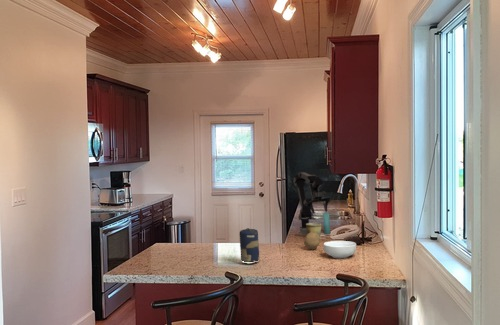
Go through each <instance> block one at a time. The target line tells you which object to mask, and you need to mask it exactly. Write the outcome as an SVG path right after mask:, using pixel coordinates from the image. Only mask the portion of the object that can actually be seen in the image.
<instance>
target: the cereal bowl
mask: <svg viewBox="0 0 500 325" xmlns="http://www.w3.org/2000/svg"><path fill="white" fill-rule="evenodd" d="M323 250H324V252H325V253H326V254H327V255H328V256H331V257H332V258H333V259H347V258H348V257H350V256H352V255H354V254H355V253H356V250H357V243H356V242H354V241H348V240H347V241H346V240H331V241H325V242H324V243H323Z"/></svg>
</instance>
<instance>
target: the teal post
mask: <svg viewBox="0 0 500 325" xmlns="http://www.w3.org/2000/svg"><path fill="white" fill-rule="evenodd" d="M322 215H323V218H322V219H323V233H324V235H330V234H331V227H330V226H331V225H330V224H331V223H330V221H331V220H330V212H323V213H322Z"/></svg>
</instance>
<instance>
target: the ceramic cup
mask: <svg viewBox="0 0 500 325" xmlns="http://www.w3.org/2000/svg"><path fill="white" fill-rule="evenodd" d="M322 225H323V223H321V222H309V223H307V224H306V227H307V231H308V234H309V233H311V232H314V233H316V234H317V235H318V236H319V238H320V239H321V234H322V232H321V231H322Z"/></svg>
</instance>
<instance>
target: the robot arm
mask: <svg viewBox="0 0 500 325" xmlns="http://www.w3.org/2000/svg"><path fill="white" fill-rule="evenodd" d="M292 180H293V181H292V182H293V184H294V187H295V188H296V189H297V193H298V198H299V203H300V209H299V214H298V218H297V219H298V221H301V222H300V223H301V226H299V228H300V229H302V228H307V227H306V224H307V223H310V220H311V219H312V216H313V214H314V213H315V209H314V206H313V203H321V202H322V205H323V208H324V211H325V213H328V205H329V203H330V202H331V201H332V198H331V196H326V195H327V193H326V190H322V191H321V190H319V188H320V187H321V186H322V185H323V184H324V183H323V182H324V181H323V180H322V178H320V177H319V176H317V175H316V174H309V173H308V172H306V171H299V172H298V173H297V174H296V175H295V176H294V178H293V179H292ZM306 183H307V184H309V187H308V188H309V191H310V196H311V197H310V198H309V197H308V198H307V197H306V193H305V188H304V187H305V184H306ZM324 196H325V197H324ZM323 197H324V198H323Z"/></svg>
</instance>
